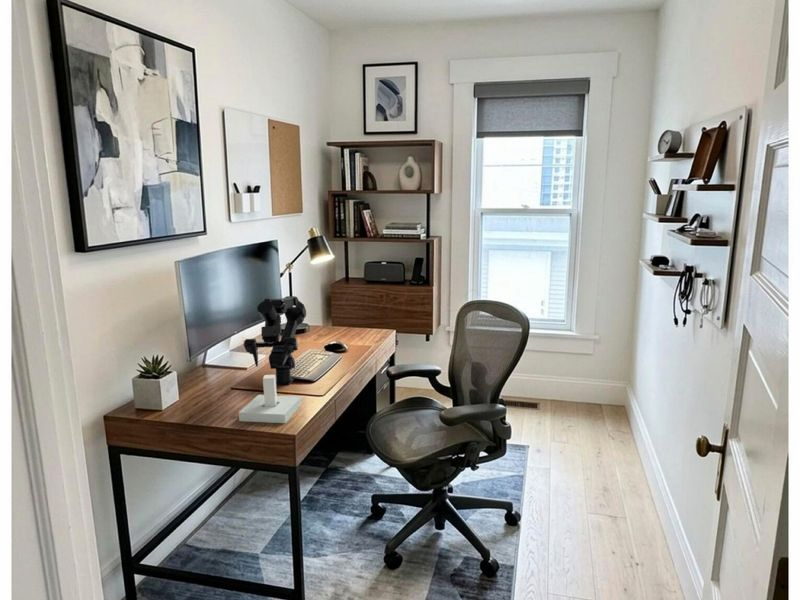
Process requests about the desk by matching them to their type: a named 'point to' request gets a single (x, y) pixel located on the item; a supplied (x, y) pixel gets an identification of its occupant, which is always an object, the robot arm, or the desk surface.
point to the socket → (270, 410)
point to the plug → (270, 390)
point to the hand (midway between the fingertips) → (269, 365)
